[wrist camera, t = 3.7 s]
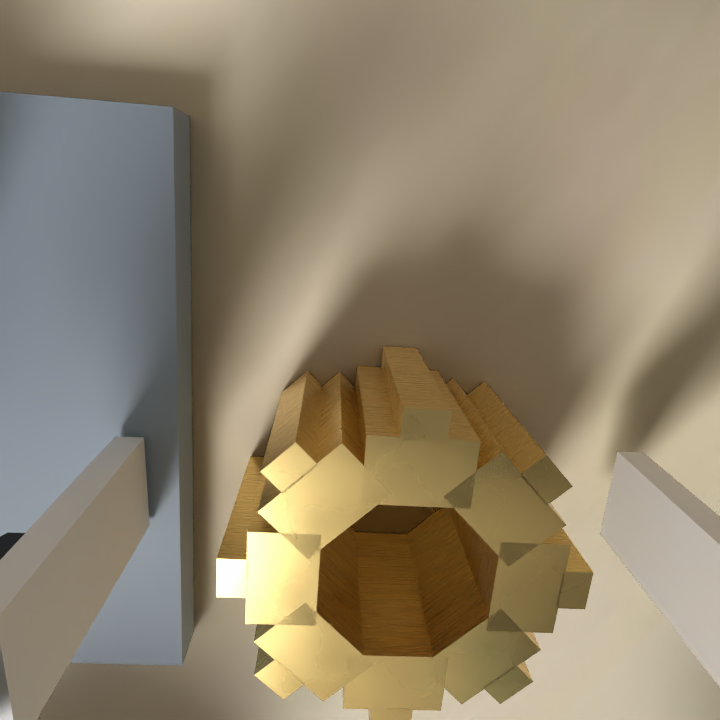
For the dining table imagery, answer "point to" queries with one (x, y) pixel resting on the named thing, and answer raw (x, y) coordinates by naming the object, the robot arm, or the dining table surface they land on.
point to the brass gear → (399, 542)
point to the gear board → (101, 339)
